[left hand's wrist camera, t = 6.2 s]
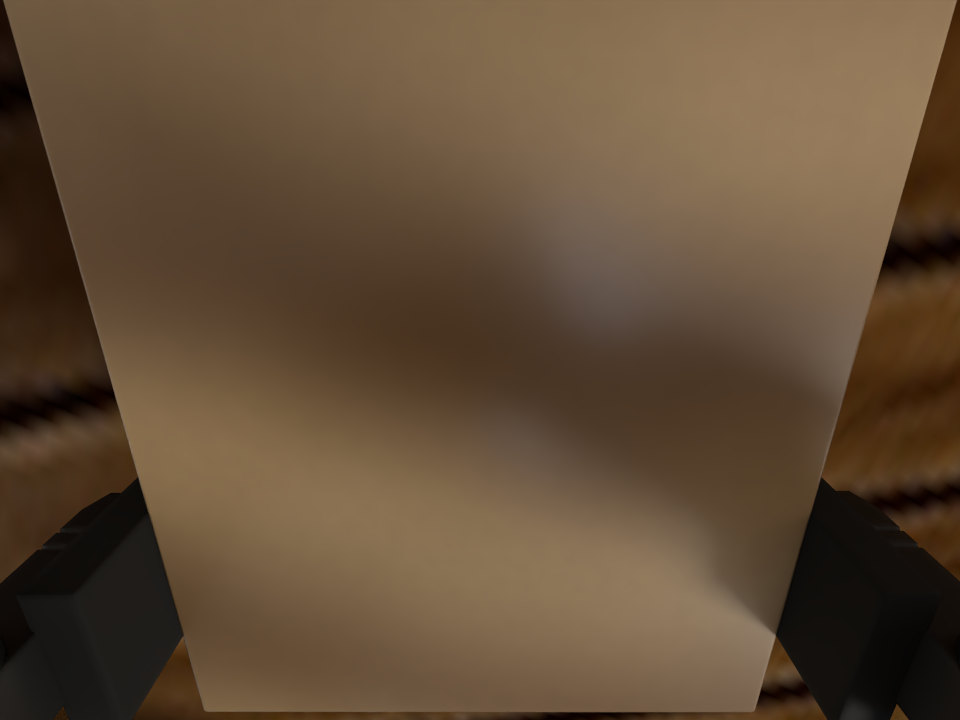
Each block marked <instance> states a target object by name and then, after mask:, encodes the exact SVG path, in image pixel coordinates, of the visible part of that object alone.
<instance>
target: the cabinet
mask: <svg viewBox="0 0 960 720" xmlns="http://www.w3.org/2000/svg"><path fill="white" fill-rule="evenodd" d="M3 1H4V5H5V8H6V12H7V15H8V19H9V22H10V26H11V29H12V33H13V36H14V40H15V43H16V47H17V50H18V54H19V58H20V61H21V65H22V68H23V72H24V75H25V79H26V82H27V86H28V89H29V93H30V96H31V100H32V103H33V107H34V111H35V114H36V118H37V121H38V125H39V128H40V132H41V135H42V139H43V142H44V146H45V149H46V153H47V156H48V160H49V164H50V167H51V171H52V174H53V178H54V181H55V185H56V188H57V192H58V195H59V199H60V202H61V206H62V209H63V213H64V217H65V220H66V224H67V227H68V231H69V234H70V238H71V241H72V245H73V248H74V252H75V255H76V259H77V262H78V266H79V270H80V273H81V277H82V280H83V284H84V287H85V291H86V294H87V298H88V301H89V305H90V308H91V312H92V315H93V319H94V323H95V326H96V330H97V333H98V337H99V340H100V344H101V347H102V351H103V354H104V358H105V361H106V365H107V368H108V372H109V376H110V379H111V383H112V386H113V390H114V393H115V397H116V400H117V404H118V407H119V411H120V414H121V418H122V421H123V425H124V429H125V432H126V436H127V439H128V443H129V446H130V450H131V453H132V457H133V460H134V464H135V467H136V471H137V474H138V478H139V482H140V485H141V489H142V492H143V496H144V499H145V503H146V506H147V510H148V513H149V517H150V520H151V524H152V527H153V531H154V535H155V538H156V542H157V545H158V549H159V552H160V556H161V559H162V563H163V566H164V570H165V573H166V577H167V580H168V584H169V588H170V591H171V595H172V598H173V602H174V605H175V609H176V612H177V616H178V619H179V623H180V626H181V630H182V633H183V637H184V641H185V644H186V648H187V651H188V655H189V658H190V662H191V665H192V669H193V672H194V676H195V679H196V683H197V686H198V690H199V694H200V697H201V701H202V704H203V708H204V710H205V711H207V712H753V711H755V708H756V704H757V701H758V697H759V694H760V690H761V687H762V683H763V680H764V676H765V673H766V669H767V666H768V662H769V659H770V655H771V652H772V648H773V644H774V641H775V637H776V634H777V630H778V627H779V623H780V620H781V616H782V613H783V609H784V606H785V602H786V599H787V595H788V592H789V588H790V585H791V581H792V578H793V574H794V571H795V567H796V564H797V560H798V557H799V553H800V550H801V546H802V543H803V539H804V536H805V532H806V529H807V525H808V521H809V518H810V514H811V511H812V507H813V504H814V500H815V497H816V493H817V490H818V486H819V483H820V479H821V476H822V472H823V469H824V465H825V462H826V458H827V455H828V451H829V448H830V444H831V441H832V437H833V434H834V430H835V427H836V423H837V420H838V416H839V413H840V409H841V406H842V402H843V398H844V395H845V391H846V388H847V384H848V381H849V377H850V374H851V370H852V367H853V363H854V360H855V356H856V353H857V349H858V346H859V342H860V339H861V335H862V332H863V328H864V325H865V321H866V318H867V314H868V311H869V307H870V304H871V300H872V297H873V293H874V290H875V286H876V283H877V279H878V275H879V272H880V268H881V265H882V261H883V258H884V254H885V251H886V247H887V244H888V240H889V237H890V233H891V230H892V226H893V223H894V219H895V216H896V212H897V209H898V205H899V202H900V198H901V195H902V191H903V188H904V184H905V181H906V177H907V174H908V170H909V167H910V163H911V160H912V156H913V152H914V149H915V145H916V142H917V138H918V135H919V131H920V128H921V124H922V121H923V117H924V114H925V110H926V107H927V103H928V100H929V96H930V93H931V89H932V86H933V82H934V79H935V75H936V72H937V68H938V65H939V61H940V58H941V54H942V51H943V47H944V44H945V40H946V37H947V33H948V29H949V26H950V22H951V19H952V15H953V12H954V8H955V5H956V1H957V0H3Z"/></svg>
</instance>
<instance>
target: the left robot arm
mask: <svg viewBox="0 0 960 720" xmlns="http://www.w3.org/2000/svg"><path fill="white" fill-rule="evenodd" d="M776 636H777V638H778V639H779V641H780V642H781V644H782V646H783V647H784V649H785V651H786V652H787V654H788V656H789V657H790V659H791V661H792V662H793V664H794V665H795V667H796V669H797V670H798V672H799V674H800V675H801V677H802V679H803V680H804V682H805V684H806V685H807V687H808V688H809V690H810V692H811V693H812V695H813V697H814V698H815V700H816V702H817V703H818V705H819V707H820V708H821V710H822V711H823V713H824V715H825V716H826V718H827V720H890V718H891V716H892V714H893V711H894V709H895V707H896V704H898V706H899V707H900V708H901V710H902V711H903V712H904V714H905V715H906V716H907V718H908V719H909V720H960V581H959V580H958V579H956V578H955V577H954V576H953V575H952V574H951V573H950V572H949V571H948V570H946V569H945V568H944V567H943V566H942V565H941V564H940V563H939V562H938V561H936V560H935V559H934V558H933V557H932V556H931V555H930V554H929V553H928V552H926V551H925V550H924V549H923V548H919V547H918V543H916V542H915V541H914V540H913V539H912V538H911V537H910V536H909V535H908V534H906V533H905V532H904V531H900V529H899V526H898V525H896V524H895V523H894V522H893V521H892V520H891V519H890V518H889V517H888V516H886V515H885V514H884V513H883V512H882V511H881V510H880V509H879V508H877V507H876V506H874V505H872V504H870V503H869V502H867V501H865V500H864V499H862V498H860V497H858V496H857V495H855V494H853V493H851V492H850V491H835V490H834V489H833V488H832V487H831V486H830V485H829V484H828V483H827V482H826V481H825V480H824V479H823V478H822V477H821V479H820V483H819V486H818V490H817V493H816V497H815V500H814V504H813V507H812V511H811V514H810V518H809V521H808V525H807V529H806V532H805V536H804V539H803V543H802V546H801V550H800V553H799V557H798V560H797V564H796V567H795V571H794V574H793V578H792V581H791V585H790V588H789V592H788V595H787V599H786V602H785V606H784V609H783V613H782V616H781V620H780V623H779V627H778V630H777V634H776ZM182 637H183V633H182V630H181V626H180V623H179V619H178V616H177V612H176V609H175V605H174V602H173V598H172V595H171V591H170V588H169V584H168V580H167V577H166V573H165V570H164V566H163V563H162V559H161V556H160V552H159V549H158V545H157V542H156V538H155V535H154V531H153V527H152V524H151V520H150V517H149V513H148V510H147V506H146V503H145V499H144V496H143V492H142V489H141V485H140V482H139V478H137V479H136V480H135V481H134V482H133V483H132V484H130V485H129V486H128V487H127V488H126V489H125V490H124V491H123V492H122V493H110V494H108V495H107V496H105V497H103V498H101V499H100V500H98V501H96V502H94V503H93V504H91V505H89V506H87V507H86V508H84V509H82V510H81V511H80V512H79V513H78V514H77V515H76V516H75V517H73V518H72V519H71V520H70V521H69V522H68V523H67V524H66V525H65V526H63V527H62V528H61V531H60V533H56V534H55V535H54V536H52V537H51V538H50V539H49V540H48V541H47V542H46V543H45V544H44V545H43V546H42V549H41V550H37V551H36V552H35V553H34V554H33V555H31V556H30V557H29V558H28V559H27V560H26V561H25V562H24V563H23V564H22V565H20V566H19V567H18V568H17V569H16V570H15V571H14V572H13V573H12V574H11V575H9V576H8V577H7V578H6V579H5V580H4V581H3V582H2V583H1V584H0V720H53V719H54V717H55V716H56V715H57V713H58V712H59V711H60V709H61V708H62V707H63V706H64V709H65V711H66V713H67V716H68V718H69V720H132V719H133V717H134V715H135V714H136V712H137V710H138V709H139V707H140V706H141V704H142V702H143V701H144V699H145V697H146V696H147V694H148V692H149V691H150V689H151V688H152V686H153V684H154V683H155V681H156V679H157V678H158V676H159V674H160V673H161V671H162V669H163V668H164V666H165V665H166V663H167V661H168V660H169V658H170V656H171V655H172V653H173V651H174V650H175V648H176V646H177V645H178V643H179V642H180V640H181V638H182Z"/></svg>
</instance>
